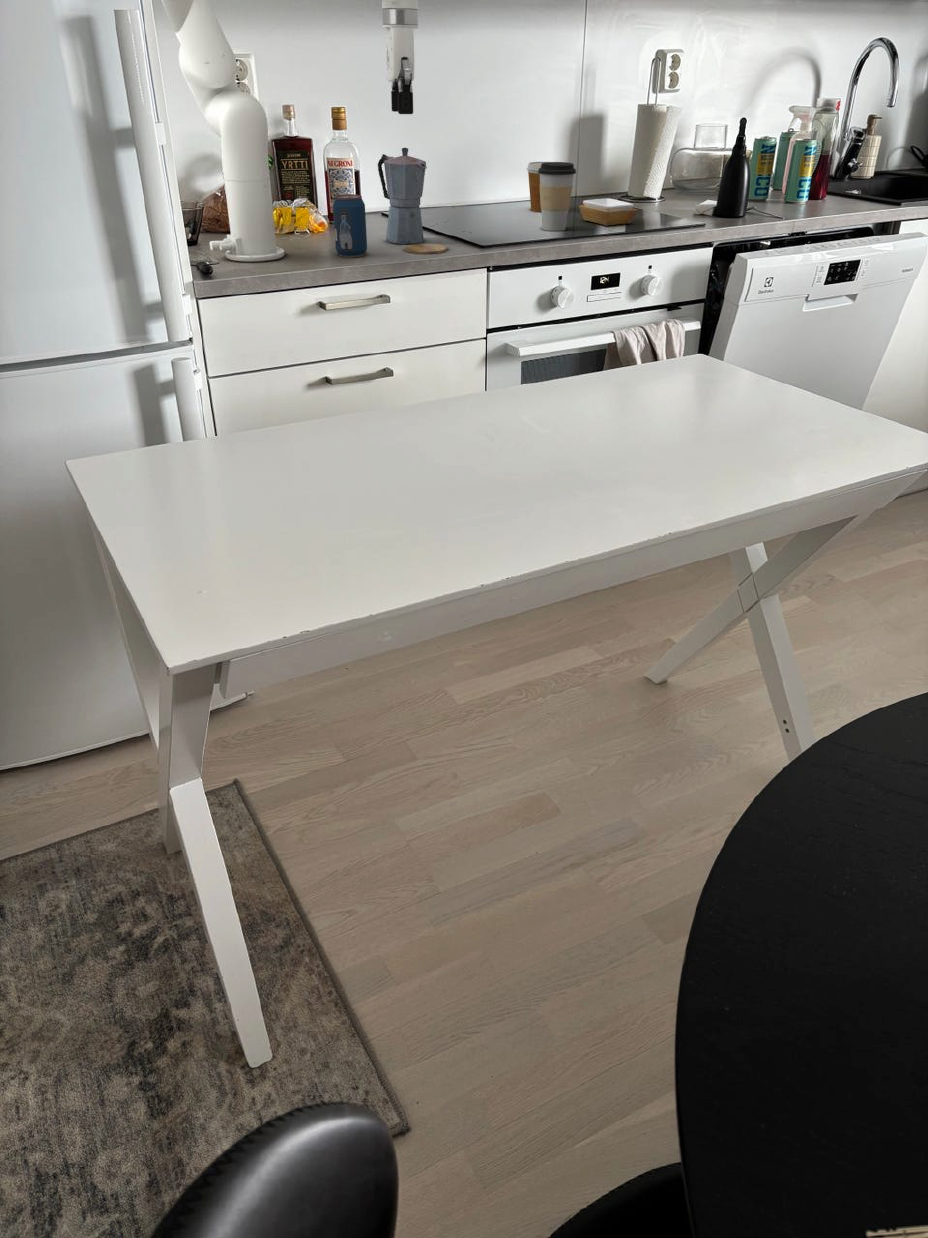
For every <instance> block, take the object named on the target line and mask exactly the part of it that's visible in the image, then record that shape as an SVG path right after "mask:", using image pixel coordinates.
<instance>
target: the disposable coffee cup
mask: <svg viewBox="0 0 928 1238" xmlns="http://www.w3.org/2000/svg"><path fill="white" fill-rule="evenodd" d="M545 162H546V161H530V162H528V164H527V167H526V171H527V174H528V188H529V201H530V211H531V212H536V213H541V204H540V173H538V171H539V168H541V164H542V163H545Z"/></svg>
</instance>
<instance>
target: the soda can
mask: <svg viewBox="0 0 928 1238" xmlns="http://www.w3.org/2000/svg"><path fill="white" fill-rule="evenodd" d="M334 198H335V199H334V200H333V203H332V212H333V213H332V214H333V215H332V216H333V228H334V229H333V230H334V240H335V241H334V243H335V251H336V252H337V254H338V256H339V257H342V258H359V257H360V258H361V257H364V256H365V254H366V252H367V250H368V236H367V235H368V234H367V219H366V218H367V217H366V204H365V202H364V199H363V195H361V194H352V193H346V194H345V193H344V194H337V195H335V196H334Z"/></svg>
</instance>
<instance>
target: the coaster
mask: <svg viewBox="0 0 928 1238" xmlns="http://www.w3.org/2000/svg"><path fill="white" fill-rule="evenodd" d="M405 251H406V252H408V253H411V254H419V255H432V254H441V253H445V252H446V251H447V247H446V246H445V245H442V244H435V243H417V244H410V245H408V246H405Z"/></svg>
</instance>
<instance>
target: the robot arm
mask: <svg viewBox="0 0 928 1238" xmlns="http://www.w3.org/2000/svg"><path fill="white" fill-rule="evenodd" d="M160 1H161V4H162V7H163V9H164V11H165V14H166V16H167V19H168V21H169V22H170V25H171V27H172V30H173V32H174V34H175V36H176V38H177V41H178V42H179V50H178V64H179V65H178V66H179V68H180V71H181V74H182V76H183V78H184V81H185V82H186V84H187V87H188V89H189V90H190V93H191V94H192V97H193V98H194V100H195V102H196V104H197V107H198V108H199V110H200V113H201V114H202V116H203V118H204V119H205V122H206V123H207V125H208V127H209V128H210V130H211V131H212V132H213V133H214V134H215V135H216V136H217V137H219V138H220V141H221V142H220V143H221V145H220V146H221V149H220V150H221V165H222V175H223V176H222V177H223V181H224V190H225V198H226V205H227V215H228V223H229V231H230V234H226V237H225V238H223V240H210V241H209V248H210V251H212V252H214V251H221V252H223V251H224V252H225V258H226V259H228V260H230V261H235V262H249V263H251V262H254V263H255V262H267V261H274V260H279V259H282V258H284V256H285V250H284V248H281V247H279V246H277V236H276V226H275V225H276V224H275V216H274V206H273V195H272V186H271V185H272V184H271V176H270V175H271V174H270V165H269V149H268V148H269V147H268V146H269V145H268V144H269V139H268V138H269V125H268V118H267V114H266V111H265V108H264V106H263V105H262V104H261V103H260V101H259V99H257V98H256V97H255V96H254V95H252V94H251V93H249V92H246V91H242V90H241V89H240V88H239V85H238V84H237V81H236V79H235V78H236V74H237V71H238V70H237V69H238V66H237V64H238V63H237V58H236V55H235V53H234V50H233V49H232V47H231V45H230V43H229V41H228V39H227V37H226V35H225V32H224V31H223V29H222V27H221V25H220V23H219V21H218V18H217V16H216V14H215V11H214V9H213V6H212V4H211V2H210V0H160ZM381 15H382V29H386V38H385V41H386V43H385V44H386V45H385V79H386V80H387V81H388V82H390V83H391V91H390V100H391V102H390V103H391V112H395V113H396V112H397V113H398V114H399V115H413V114H414V92H413V82H414V79H415V37H414V29H419V0H381Z"/></svg>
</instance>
